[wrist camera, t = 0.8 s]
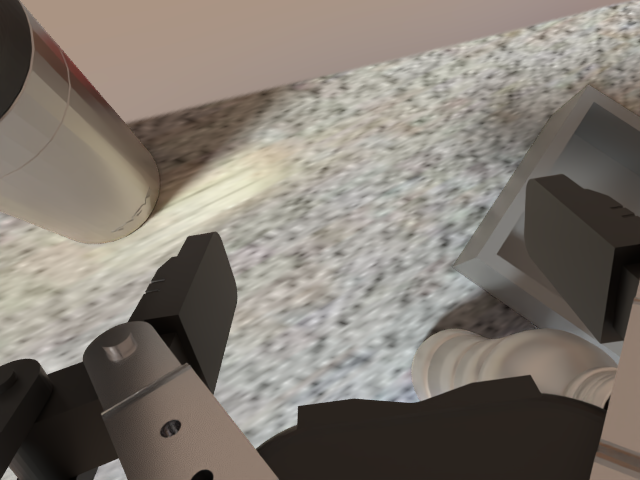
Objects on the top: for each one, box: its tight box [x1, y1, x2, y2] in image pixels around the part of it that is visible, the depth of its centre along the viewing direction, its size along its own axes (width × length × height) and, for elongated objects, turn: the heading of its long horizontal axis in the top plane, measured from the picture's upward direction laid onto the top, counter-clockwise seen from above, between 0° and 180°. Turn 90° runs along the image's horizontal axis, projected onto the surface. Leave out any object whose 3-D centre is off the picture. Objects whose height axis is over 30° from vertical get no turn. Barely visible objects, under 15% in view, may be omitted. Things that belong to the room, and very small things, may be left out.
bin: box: [452, 84, 640, 365], centre depth 33 cm, size 20×16×5 cm
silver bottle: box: [411, 328, 618, 410], centre depth 24 cm, size 6×7×20 cm
